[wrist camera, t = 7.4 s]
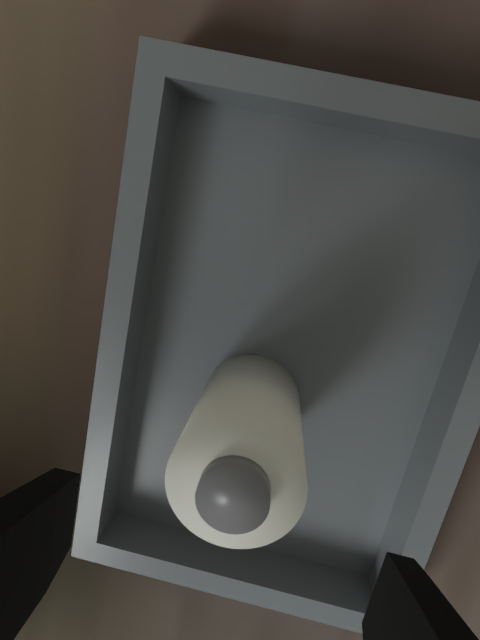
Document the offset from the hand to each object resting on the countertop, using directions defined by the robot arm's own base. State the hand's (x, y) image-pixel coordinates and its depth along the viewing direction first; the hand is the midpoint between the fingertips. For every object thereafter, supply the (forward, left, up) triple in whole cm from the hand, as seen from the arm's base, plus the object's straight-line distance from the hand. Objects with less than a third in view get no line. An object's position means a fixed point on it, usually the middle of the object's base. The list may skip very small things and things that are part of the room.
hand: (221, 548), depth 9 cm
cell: (0, 0, -8) cm, 8 cm away
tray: (+1, +2, -9) cm, 9 cm away
